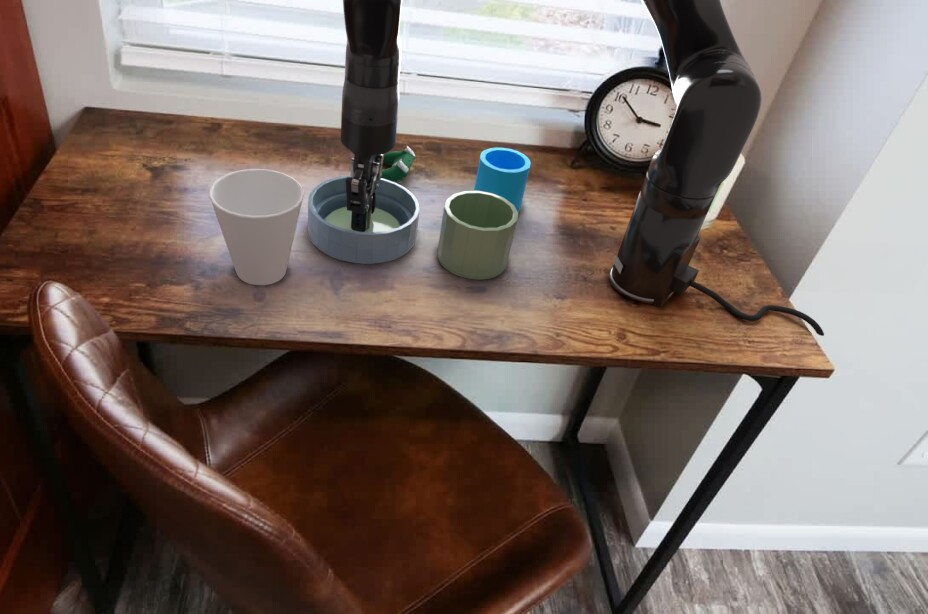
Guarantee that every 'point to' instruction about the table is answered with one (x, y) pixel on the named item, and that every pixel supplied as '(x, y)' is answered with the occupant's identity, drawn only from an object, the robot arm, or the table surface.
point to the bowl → (363, 243)
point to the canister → (476, 234)
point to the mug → (503, 174)
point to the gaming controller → (398, 164)
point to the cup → (258, 221)
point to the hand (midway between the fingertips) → (363, 220)
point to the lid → (374, 221)
